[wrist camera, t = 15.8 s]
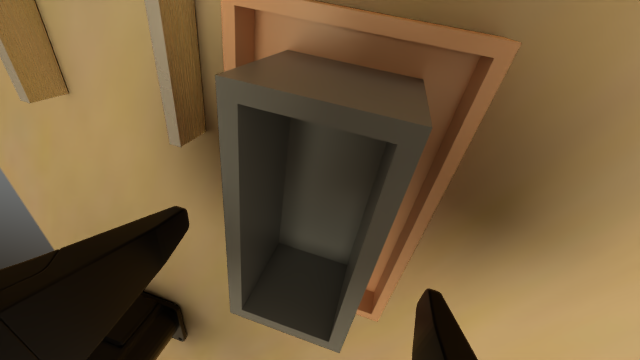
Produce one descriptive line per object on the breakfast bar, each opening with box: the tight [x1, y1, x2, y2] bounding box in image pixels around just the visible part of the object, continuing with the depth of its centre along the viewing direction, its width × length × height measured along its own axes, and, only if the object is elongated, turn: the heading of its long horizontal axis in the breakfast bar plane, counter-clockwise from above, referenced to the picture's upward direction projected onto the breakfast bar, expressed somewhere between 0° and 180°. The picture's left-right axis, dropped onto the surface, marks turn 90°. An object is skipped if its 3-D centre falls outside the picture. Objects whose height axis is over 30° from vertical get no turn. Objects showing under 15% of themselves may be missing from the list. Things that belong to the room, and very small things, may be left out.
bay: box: [0, 0, 206, 147], centre depth 12 cm, size 8×10×2 cm
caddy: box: [215, 50, 433, 353], centre depth 12 cm, size 11×5×5 cm, turn 171°
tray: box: [221, 0, 522, 322], centre depth 13 cm, size 15×9×2 cm, turn 171°
